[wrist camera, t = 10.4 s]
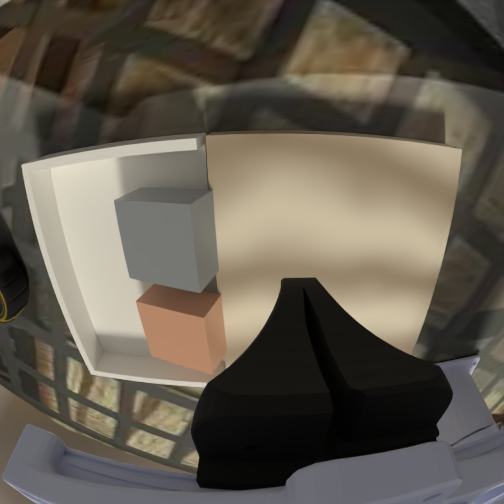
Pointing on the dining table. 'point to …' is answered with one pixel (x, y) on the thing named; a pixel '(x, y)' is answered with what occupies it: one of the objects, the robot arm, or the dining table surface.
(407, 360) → the robot arm
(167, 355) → the tile terracotta
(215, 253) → the tile slate
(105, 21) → the dining table surface
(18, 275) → the tape measure
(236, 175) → the deck
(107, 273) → the box
